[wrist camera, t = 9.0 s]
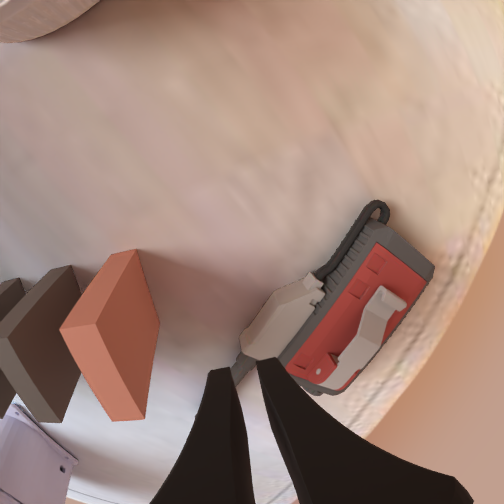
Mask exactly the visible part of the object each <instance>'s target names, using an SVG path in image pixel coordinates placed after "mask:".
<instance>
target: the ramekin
mask: <svg viewBox="0 0 504 504" xmlns="http://www.w3.org/2000/svg"><path fill="white" fill-rule="evenodd" d="M99 1H100V0H0V42H3V43H13V42H23V41H26V40H32V39H35V38H37V37H41V36H44V35H46V34H48V33H50V32H53V31H55V30H57V29H58V28H60V27H62V26H65V25H66V24H68V23H69V22H71V21H72V20H74V19H76V18H77V17H79V16H80V15H82V14H83V13H84V12H86V11H87V10H89V9H90V8H91V7H92V6H93V5H95V4H96V3H97V2H99Z"/></svg>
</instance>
